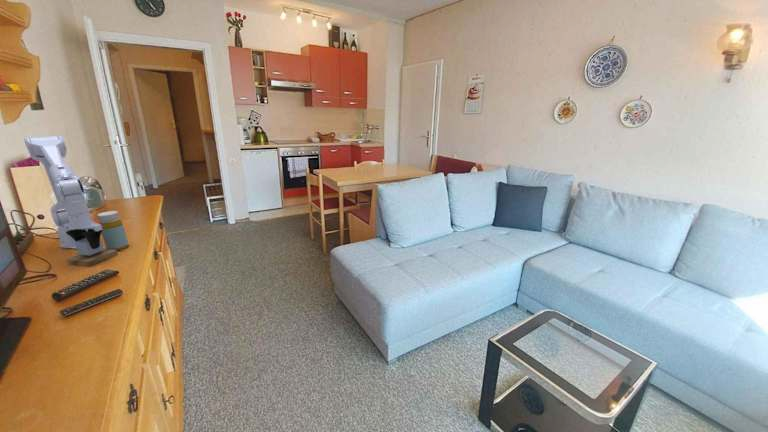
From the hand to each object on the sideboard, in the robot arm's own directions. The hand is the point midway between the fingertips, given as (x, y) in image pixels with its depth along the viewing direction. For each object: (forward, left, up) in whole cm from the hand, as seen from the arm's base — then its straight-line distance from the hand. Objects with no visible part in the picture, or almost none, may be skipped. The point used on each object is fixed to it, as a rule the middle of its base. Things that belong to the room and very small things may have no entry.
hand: (90, 247), depth 116 cm
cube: (0, 0, -2) cm, 2 cm away
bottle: (-1, +10, -5) cm, 11 cm away
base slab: (0, 0, -5) cm, 5 cm away
